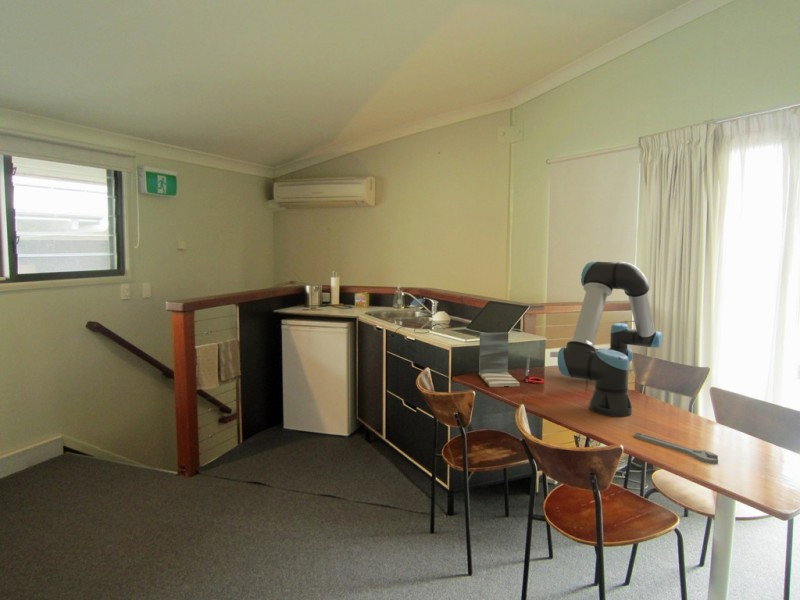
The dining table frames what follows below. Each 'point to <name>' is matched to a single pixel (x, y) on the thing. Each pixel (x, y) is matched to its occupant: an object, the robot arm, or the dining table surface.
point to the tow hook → (528, 379)
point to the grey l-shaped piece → (495, 360)
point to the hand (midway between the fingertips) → (555, 357)
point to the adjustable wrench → (681, 449)
